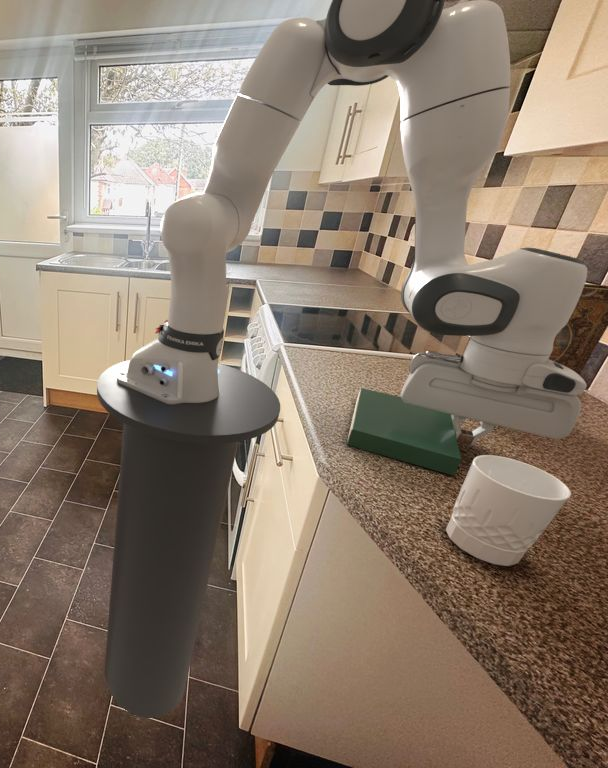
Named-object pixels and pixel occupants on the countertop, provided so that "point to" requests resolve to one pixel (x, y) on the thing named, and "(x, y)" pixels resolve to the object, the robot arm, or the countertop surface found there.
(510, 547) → the white cup
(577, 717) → the countertop surface
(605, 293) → the book
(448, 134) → the robot arm
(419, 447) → the hardback
